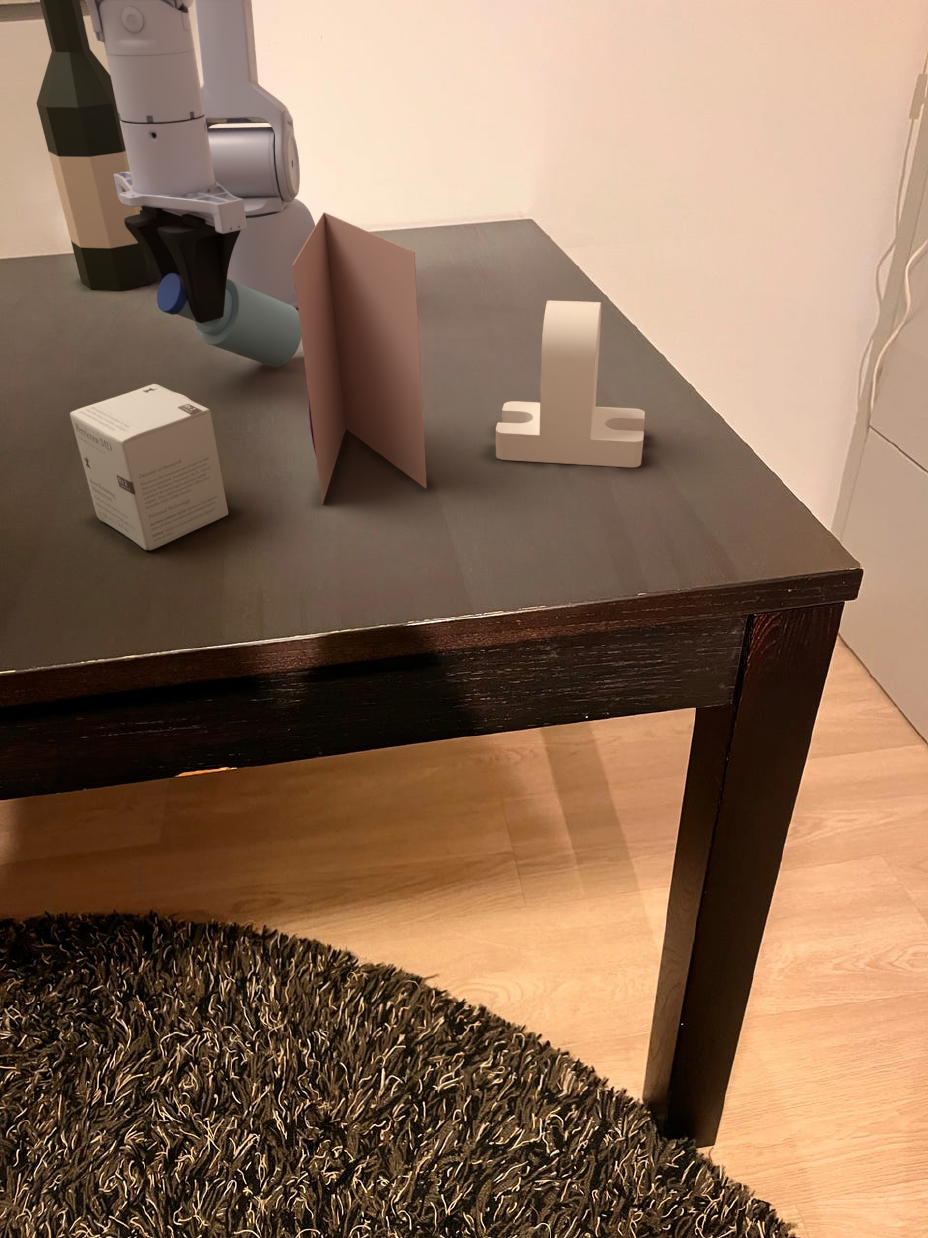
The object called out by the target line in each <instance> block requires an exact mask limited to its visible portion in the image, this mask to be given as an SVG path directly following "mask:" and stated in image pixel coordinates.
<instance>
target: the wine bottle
mask: <svg viewBox="0 0 928 1238" xmlns="http://www.w3.org/2000/svg"><path fill="white" fill-rule="evenodd" d="M39 3H40V7H41V12H42V17H43V20H44V24H45V28H46V33H47V37H48V42H49V45H50V49H51V52H50V55H49V59H48V62H47V66H46V69H45V72H44V76H43V79H42V82H41V86H40V90H39V93H38V96H37V99H36V107H37V111H38V115H39V119H40V123H41V127H42V131H43V135H44V140H45V143H46V147H47V151H48V156H49V159H50V163H51V167H52V171H53V176H54V178H55V183H56V187H57V191H58V195H59V199H60V203H61V206H62V207H61V208H62V211H63V215H64V219H65V222H66V226H67V227H66V228H67V230H68V235H69V239H70V242H71V246H72V250H73V251H72V252H73V255H74V258H75V262H76V267H77V269H78V271H77V272H78V274H79V279H80V282H81V283H82V284H83V285H84V286H85V287H86V288H88V289H89V290H92V291H119V292H121V291H125V290H129V289H134V288H135V289H136V288H140V287H144V286H149V285H152V284H153V283H154V282H156V281H157V280H158V278H157V275H156V273H155V271H154V269H153V267H152V265H151V263H150V261H149V259H148V258H147V256H146V254H145V252H144V251H143V249H142V248H141V246H140V245H139V243H138V242H137V240H136V239H135V238H134V236H133V235H132V234H131V233H130V231H129V230H128V229H127V228H126V226H125V223H124V219H125V218H126V217H129V216H133V215H138V214H140V210H142V207H141V206H140V207H129V206H126V205H123V204H122V203H121V201H119V198H118V193H117V189H116V184H115V179H114V174H117V173H122V172H128V171H130V169H129V164H128V159H127V154H126V149H125V144H124V139H123V135H122V130H121V125H120V119H119V115H118V110H117V105H116V100H115V96H114V91H113V86H112V81H111V76H110V72H108V71H107V69H106V68H105V66H103V64H102V63H101V61H100V60H99V59H98V57H97V56H96V55H95V54H94V52H93V51H92V50H91V47H90V42H89V38H88V32H87V29H86V23H85V20H84V15H83V10H82V6H81V1H80V0H39Z"/></svg>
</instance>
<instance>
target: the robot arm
mask: <svg viewBox="0 0 928 1238" xmlns="http://www.w3.org/2000/svg"><path fill="white" fill-rule="evenodd" d="M84 1H85V3H86V7H87V9H88V12H89V17H90V22H91V25H92V29H93V30H92V31H93V33H94V34H95V38H96V40H97V42H101V43H103V45H104V51H105V55H106V56H105V57H106V60H107V66H108V71H109V74H110V76H111V81H112V86H113V91H114V96H115V100H116V105H117V110H118V115H119V119H120V125H121V130H122V135H123V139H124V144H125V149H126V154H127V159H128V164H129V169H130V171H128V172H122V173H117V174H114V179H115V184H116V189H117V193H118V198H119V201H121V203H122V204H123V205H126V206H129V207H140V206H141V207H142V210H140V214H138V215H133V216H129V217H126V218H125V219H124V223H125V226H126V228H127V229H128V230H129V231H130V233H131V234H132V235H133V236H134V238H135V239H136V240H137V242H138V243H139V245H140V246H141V248H142V249H143V251H144V252H145V254H146V256H147V258H148V259H149V261H150V263H151V265H152V267H153V269H154V271H155V273H156V275H157V278H158V279H157V280H158V282H159V284H160V283H161V281H162V280H163V278H164V277H165V276H166V275H168V274H170V273H175V274H177V275H180V276H181V278H182V281H183V284H184V288H185V291H186V295H187V299H188V302H189V305H190V309H191V311H192V314H193V316H194V318H195V320H196V321H197V322H199V323H205V322H208V321H212V320H215V319H219V318H222V317H223V315H224V305H225V293H226V282H227V279H230V280H232V281H235V282H237V283H239V284H242V285H244V286H246V287H249V288H251V289H253V290H256V291H258V292H260V293H263V294H265V295H268V296H270V297H272V298H275V299H277V300H279V301H282V302H284V303H286V304H289V305H291V306H293V307H294V308H296V309H298V304H297V295H296V290H295V286H294V285H295V279H294V271H293V263H294V262H295V260H296V258H297V257H298V255H299V253H300V252H301V250H302V248H303V246H304V245H305V243H306V241H307V240H308V238H309V236H310V235H311V233H312V231H313V229H314V228H315V226H316V223H315V221H314V217H313V215H312V213H311V211H310V210H309V208H308V207H307V206H306V204H304V203H303V202H302V201H301V200H300V199H297V198H296V197H297V196H298V194H299V193H300V192H299V191H300V187H301V186H300V185H301V171H300V157H299V149H298V144H297V141H296V137H295V130H294V129H295V128H294V119H293V117H292V115H291V113H290V111H289V108H288V107H287V106H286V105H285V104H284V103H283V102H282V101H281V100H280V99H279V98H277V97H276V96H275V95H273V94H272V93H270V91H268V90H267V89H266V88H264V87H263V86H261V85H260V83H259V76H258V75H259V74H258V63H257V52H256V39H255V27H254V15H253V4H252V3H253V2H252V0H84ZM194 2H195V3H194ZM193 3H194V4H195V14H196V23H197V32H198V42H199V44H198V45H199V52H200V53H199V54H200V62H201V63H200V64H201V73H202V82H203V83H202V85H201V82H200V75H199V69H198V62H197V56H196V49H195V43H194V37H193V30H192V24H191V17H190V10H189V8H191V7H192V5H193ZM234 124H238V125H239V124H269V126H241V127H240V126H239V127H237V126H236V127H213V126H217V125H234Z"/></svg>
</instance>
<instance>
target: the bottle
mask: <svg viewBox="0 0 928 1238" xmlns="http://www.w3.org/2000/svg"><path fill="white" fill-rule="evenodd" d="M156 292H157V293H156V304H157V306H158V308H159V310H160V311H162V312H163V313H166V314H168V315H172V316H175V315H176V316H180V317H183V318H185V319H187V320H191V321H193V322H194V324H195V326H196V328H197V330H198V334H199V336H200V338H201V339H202V341H203V342H204V343H206V344H207V345H210V346H212V347H216V348H219V349H221V350H224V351H227V352H229V353H232V354H235V355H238V356H240V357H244V358H247V359H250V360H251V361H255V362H258V363H261V364H264V365H266V366H269V367H272V368H279V367H283V366H284V365H286V364H287V363H289V362H290V361H291V360H292V359H293V358H294V356H295V354H296V353H297V351H298V349H299V347H300V345H301V342H302V336H301V328H300V320H299V312H298V309H297V308H294V307H293V306H291V305H289V304H286V303H284V302H282V301H279V300H277V299H275V298H272V297H270V296H268V295H265V294H263V293H260V292H258V291H256V290H253V289H251V288H249V287H246V286H244V285H242V284H239V283H237V282H235V281H232V280H230V279H227V282H226V293H225V305H224V315H223V317H222V318H219V319H215V320H212V321H208V322H205V323H199V322H197V321H196V320H195V318H194V316H193V314H192V311H191V309H190V305H189V302H188V299H187V295H186V291H185V288H184V284H183V281H182V278H181V276H180V275H177V274H175V273H170V274H168V275H166V276H165V277H164V278H163V280H162V281H161V283H160V282H159V285H158V288H157V291H156Z"/></svg>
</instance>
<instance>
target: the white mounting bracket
mask: <svg viewBox="0 0 928 1238" xmlns="http://www.w3.org/2000/svg"><path fill="white" fill-rule="evenodd" d="M601 323H602V302H601V301H576V300H575V301H574V300H573V301H572V300H547V301H546V303H545V309H544V316H543V324H542V325H543V326H542V338H541V354H540V355H541V358H540V393H539V394H540V395H539V398H540V399H539V401H538V402H537V401H535V402H534V401H518V400H517V401H516V400H515V401H513V400H511V401H506V402H504V403H503V406H502V409H501V422H499V421H497V422H496V426H495V457H496V459H498V460H502V461H515V462H516V461H517V462H530V463H531V462H532V463H533V462H534V463H548V464H549V463H550V464H568V465H581V466H583V465H585V466H600V467H617V468H619V467H621V468H638V467H640V466H641V465H642V458H643V447H644V437H645V436H644V435H645V431H644V429H645V427H644V426H645V417H646V412H645V411H644V410H643V409H640V408H632V407H631V408H630V407H612V406H611V407H610V406H596V403H597V390H598V389H597V388H598V375H599V374H598V372H599V359H600V358H599V357H600V356H599V355H600V342H601V341H600V339H601Z"/></svg>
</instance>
